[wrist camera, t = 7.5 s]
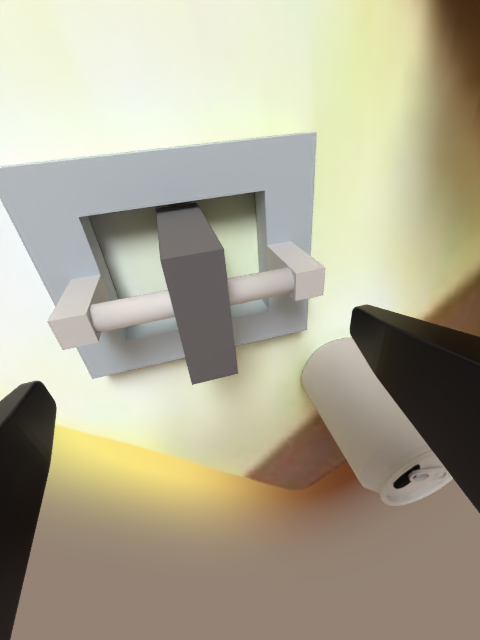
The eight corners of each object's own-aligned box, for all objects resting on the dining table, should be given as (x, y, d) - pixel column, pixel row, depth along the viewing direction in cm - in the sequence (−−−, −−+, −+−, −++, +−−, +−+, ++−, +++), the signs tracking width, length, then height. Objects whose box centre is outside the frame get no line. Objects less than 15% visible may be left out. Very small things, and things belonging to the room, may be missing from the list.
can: (300, 339, 26) (391, 464, 16) (374, 325, 27) (499, 432, 17) (294, 397, 30) (364, 526, 20) (359, 383, 31) (453, 495, 22)
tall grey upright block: (196, 202, 17) (223, 248, 11) (211, 299, 21) (238, 373, 15) (155, 208, 17) (160, 259, 11) (179, 305, 21) (192, 384, 15)
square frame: (300, 132, 17) (367, 131, 12) (296, 316, 24) (336, 367, 19) (4, 165, 15) (-81, 183, 9) (96, 360, 22) (79, 433, 16)
